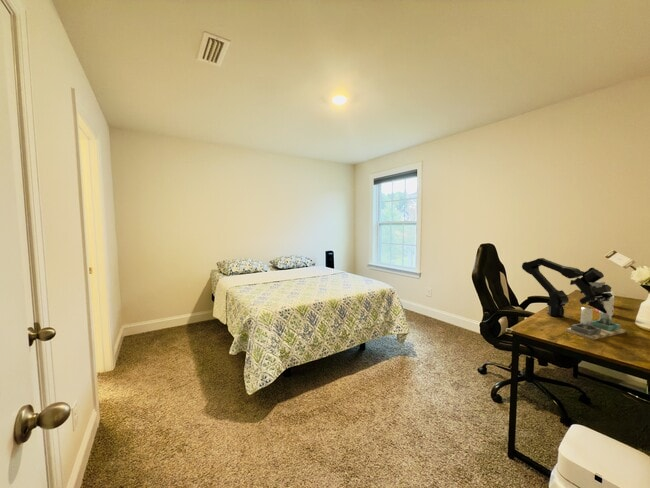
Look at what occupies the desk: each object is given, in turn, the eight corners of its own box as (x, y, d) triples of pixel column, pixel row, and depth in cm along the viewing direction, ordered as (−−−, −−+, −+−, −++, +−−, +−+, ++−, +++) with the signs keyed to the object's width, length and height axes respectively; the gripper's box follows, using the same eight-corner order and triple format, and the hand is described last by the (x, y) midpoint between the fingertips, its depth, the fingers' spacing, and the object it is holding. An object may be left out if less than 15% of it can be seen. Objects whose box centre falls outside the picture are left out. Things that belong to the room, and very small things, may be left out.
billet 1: (582, 332, 145) (583, 308, 144) (578, 329, 149) (579, 306, 148) (593, 333, 143) (594, 309, 142) (588, 330, 147) (589, 307, 146)
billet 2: (598, 323, 151) (600, 300, 150) (599, 321, 154) (601, 299, 153) (610, 325, 148) (612, 302, 147) (611, 323, 151) (613, 301, 150)
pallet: (592, 339, 139) (593, 332, 139) (565, 330, 150) (565, 324, 150) (625, 332, 147) (626, 325, 147) (597, 324, 159) (597, 318, 158)
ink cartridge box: (593, 311, 182) (595, 288, 181) (602, 311, 181) (604, 289, 180) (604, 315, 174) (605, 292, 172) (613, 315, 173) (615, 292, 171)
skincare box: (582, 301, 203) (584, 279, 202) (589, 300, 205) (591, 279, 204) (597, 304, 195) (598, 282, 194) (604, 303, 197) (605, 281, 196)
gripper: (588, 280, 150) (612, 307, 140) (609, 278, 156) (635, 303, 146) (570, 291, 158) (592, 317, 149) (591, 288, 164) (614, 313, 154)
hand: (609, 312), depth 149 cm, fingers closed on billet 2, 4 cm apart
